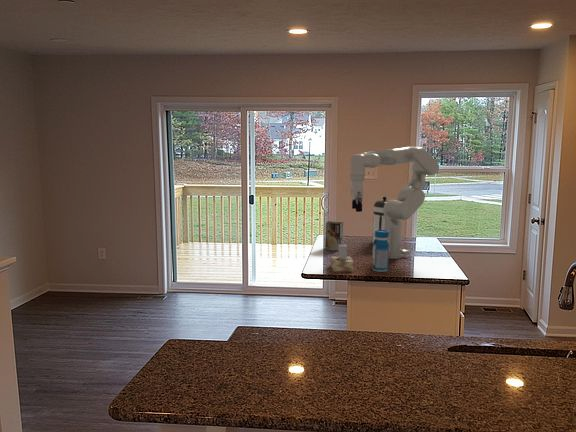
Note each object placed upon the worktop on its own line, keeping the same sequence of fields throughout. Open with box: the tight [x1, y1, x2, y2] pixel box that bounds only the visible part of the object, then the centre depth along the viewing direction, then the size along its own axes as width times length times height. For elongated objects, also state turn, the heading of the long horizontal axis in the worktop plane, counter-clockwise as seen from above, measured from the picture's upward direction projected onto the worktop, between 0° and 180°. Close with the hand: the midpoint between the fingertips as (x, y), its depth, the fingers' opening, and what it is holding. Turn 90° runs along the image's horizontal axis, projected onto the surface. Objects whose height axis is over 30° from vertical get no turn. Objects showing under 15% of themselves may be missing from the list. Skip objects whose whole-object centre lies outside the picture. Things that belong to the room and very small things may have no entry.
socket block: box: [330, 256, 355, 272], centre depth 255 cm, size 10×10×5 cm
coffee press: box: [370, 196, 388, 245], centre depth 310 cm, size 17×16×30 cm
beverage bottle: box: [371, 230, 390, 273], centre depth 253 cm, size 8×8×20 cm
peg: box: [337, 244, 348, 260], centre depth 254 cm, size 4×4×12 cm
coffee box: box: [324, 220, 344, 252], centre depth 296 cm, size 9×6×16 cm
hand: (357, 210), depth 268 cm, fingers open, 9 cm apart
